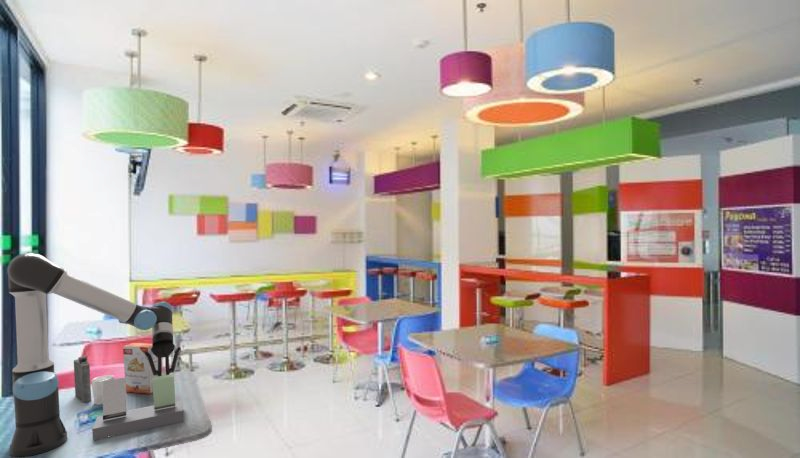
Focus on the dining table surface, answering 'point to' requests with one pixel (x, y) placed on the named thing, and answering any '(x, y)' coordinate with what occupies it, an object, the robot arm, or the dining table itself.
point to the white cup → (99, 388)
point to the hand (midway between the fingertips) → (164, 389)
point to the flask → (82, 379)
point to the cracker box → (138, 368)
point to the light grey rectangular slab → (114, 398)
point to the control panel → (138, 420)
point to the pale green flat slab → (163, 391)
